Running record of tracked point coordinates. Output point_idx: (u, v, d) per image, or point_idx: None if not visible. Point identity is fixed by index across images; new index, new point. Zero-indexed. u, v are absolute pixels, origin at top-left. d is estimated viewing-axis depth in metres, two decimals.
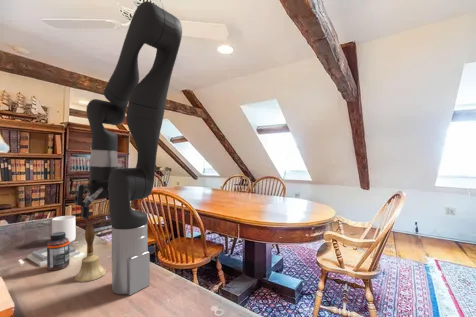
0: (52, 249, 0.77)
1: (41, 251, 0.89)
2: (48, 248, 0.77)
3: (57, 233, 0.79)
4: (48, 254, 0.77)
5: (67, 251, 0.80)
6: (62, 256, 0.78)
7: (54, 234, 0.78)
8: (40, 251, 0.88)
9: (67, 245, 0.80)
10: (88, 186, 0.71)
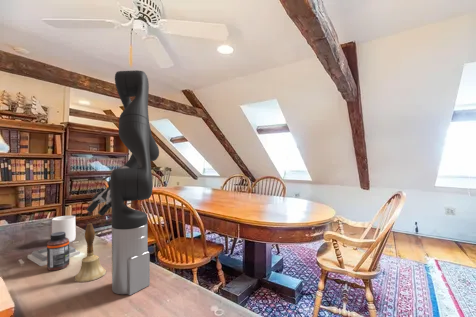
0: (52, 249, 0.77)
1: (41, 251, 0.89)
2: (48, 248, 0.77)
3: (57, 233, 0.79)
4: (48, 254, 0.77)
5: (67, 251, 0.80)
6: (62, 256, 0.78)
7: (54, 234, 0.78)
8: (40, 251, 0.88)
9: (67, 245, 0.80)
10: None
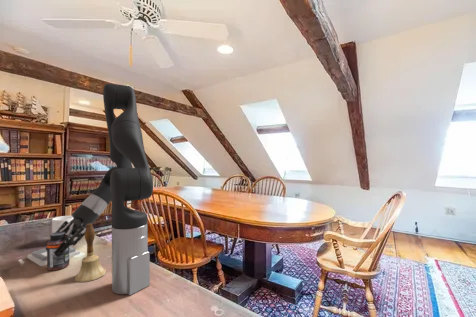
0: (52, 248, 0.77)
1: (41, 251, 0.89)
2: (48, 248, 0.77)
3: (57, 233, 0.79)
4: (48, 254, 0.77)
5: (67, 251, 0.80)
6: (62, 256, 0.78)
7: (54, 234, 0.78)
8: (40, 251, 0.88)
9: None
10: None
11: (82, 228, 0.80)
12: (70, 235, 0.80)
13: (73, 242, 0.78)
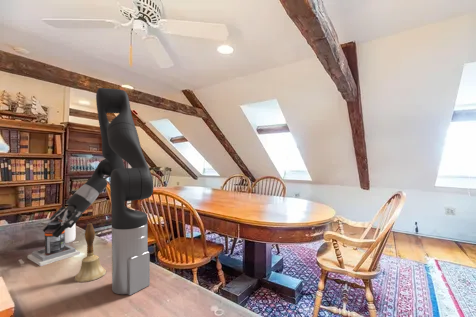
0: (49, 236, 0.86)
1: (41, 251, 0.89)
2: (45, 236, 0.86)
3: (54, 223, 0.88)
4: (45, 241, 0.86)
5: (63, 239, 0.89)
6: (58, 243, 0.87)
7: (51, 223, 0.88)
8: (40, 251, 0.88)
9: (62, 233, 0.89)
10: None
11: (77, 212, 0.89)
12: (66, 219, 0.89)
13: (70, 224, 0.87)
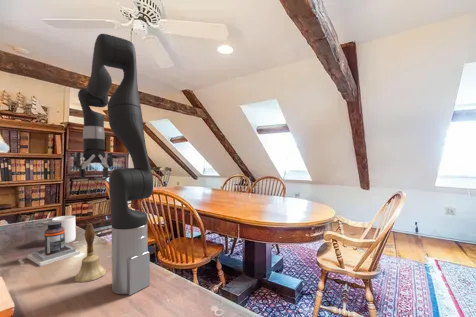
0: (49, 236, 0.86)
1: (41, 251, 0.89)
2: (45, 236, 0.86)
3: (54, 223, 0.88)
4: (45, 241, 0.86)
5: (63, 239, 0.89)
6: (58, 243, 0.87)
7: (51, 223, 0.88)
8: (40, 251, 0.88)
9: (62, 233, 0.89)
10: (83, 153, 0.94)
11: (111, 153, 1.03)
12: None
13: None
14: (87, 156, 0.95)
